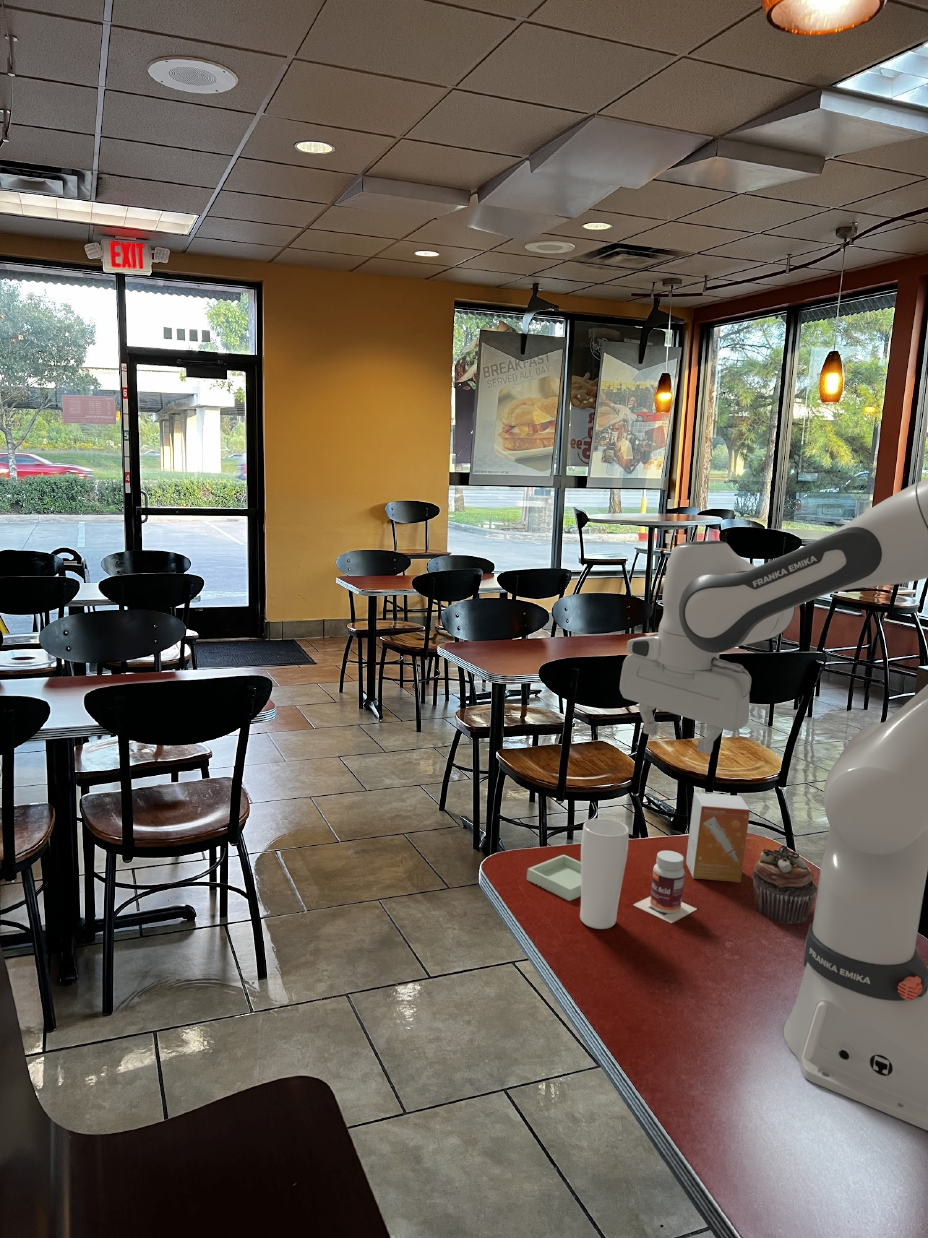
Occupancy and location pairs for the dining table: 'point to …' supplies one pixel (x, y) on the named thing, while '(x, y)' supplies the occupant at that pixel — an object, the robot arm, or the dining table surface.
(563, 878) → the sage tray
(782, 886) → the cupcake
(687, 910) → the coaster
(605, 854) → the drinking glass
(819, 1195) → the dining table surface
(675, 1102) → the dining table surface
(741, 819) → the small box
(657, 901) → the pill bottle
